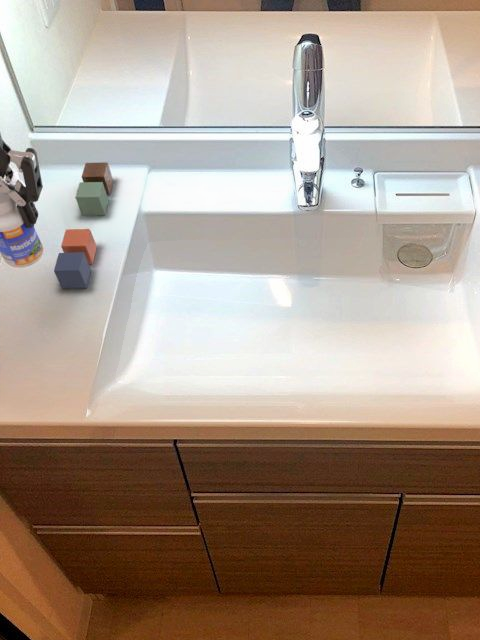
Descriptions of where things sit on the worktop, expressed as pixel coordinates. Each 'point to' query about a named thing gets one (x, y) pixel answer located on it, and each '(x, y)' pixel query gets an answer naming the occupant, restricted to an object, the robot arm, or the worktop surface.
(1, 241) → the pill bottle
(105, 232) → the worktop surface
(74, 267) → the block
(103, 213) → the block
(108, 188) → the block
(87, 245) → the block
